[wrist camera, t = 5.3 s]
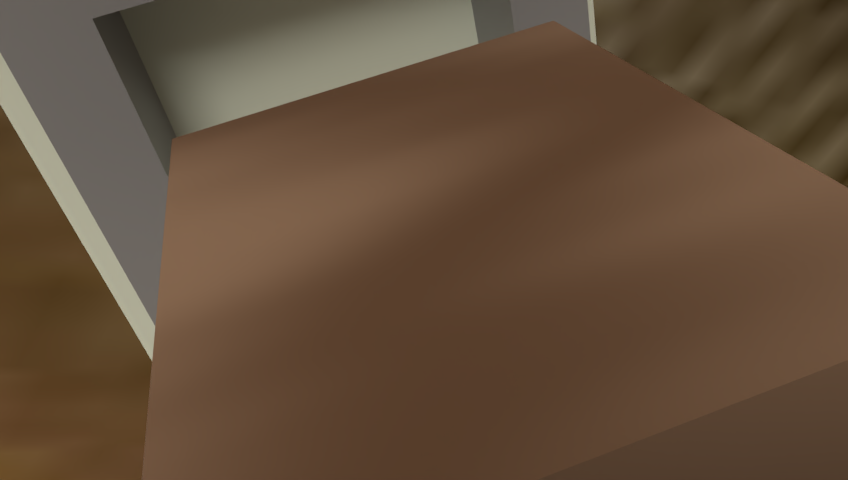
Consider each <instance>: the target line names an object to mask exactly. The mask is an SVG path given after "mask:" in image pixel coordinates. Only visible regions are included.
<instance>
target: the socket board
mask: <svg viewBox="0 0 848 480" xmlns="http://www.w3.org/2000/svg"><path fill="white" fill-rule="evenodd" d="M550 21H555V22H557V23H559V24H561V25H562V26H564V27H566V28H568V29H569V30H571V31H573V32H575V33H576V34H578V35H580V36H582V37H584V38H585V39H587V40H589V41H591V42H592V43H594V44H596V31H595V19H594V6H593V0H0V105H1V107H2V108H3V110H4V112H5V113H6V115H7V117H8V118H9V120H10V122H11V123H12V125H13V127H14V129H15V130H16V132H17V134H18V135H19V137H20V139H21V140H22V142H23V144H24V145H25V147H26V149H27V151H28V152H29V154H30V156H31V157H32V159H33V161H34V162H35V164H36V166H37V167H38V169H39V171H40V173H41V174H42V176H43V178H44V179H45V181H46V183H47V184H48V186H49V188H50V189H51V191H52V193H53V195H54V196H55V198H56V200H57V201H58V203H59V205H60V206H61V208H62V210H63V211H64V213H65V215H66V216H67V218H68V220H69V222H70V223H71V225H72V227H73V228H74V230H75V232H76V233H77V235H78V237H79V238H80V240H81V242H82V244H83V245H84V247H85V249H86V250H87V252H88V254H89V255H90V257H91V259H92V260H93V262H94V264H95V266H96V267H97V269H98V271H99V272H100V274H101V276H102V277H103V279H104V281H105V282H106V284H107V286H108V288H109V289H110V291H111V293H112V294H113V296H114V298H115V299H116V301H117V303H118V304H119V306H120V308H121V309H122V311H123V313H124V315H125V316H126V318H127V320H128V321H129V323H130V325H131V326H132V328H133V330H134V331H135V333H136V335H137V337H138V338H139V340H140V342H141V343H142V345H143V347H144V348H145V350H146V352H147V353H148V355H149V357H150V359H151V360H152V358H153V347H154V336H155V324H156V313H157V302H158V291H159V279H160V268H161V257H162V246H163V235H164V223H165V212H166V201H167V190H168V178H169V167H170V156H171V145H172V139H173V138H176V137H180V136H183V135H186V134H189V133H192V132H196V131H199V130H202V129H205V128H209V127H212V126H215V125H218V124H221V123H225V122H228V121H231V120H234V119H238V118H241V117H244V116H247V115H251V114H254V113H257V112H260V111H263V110H267V109H270V108H273V107H276V106H280V105H283V104H286V103H289V102H292V101H296V100H299V99H302V98H305V97H309V96H312V95H315V94H318V93H321V92H325V91H328V90H331V89H334V88H338V87H341V86H344V85H347V84H350V83H354V82H357V81H360V80H363V79H367V78H370V77H373V76H376V75H380V74H383V73H386V72H389V71H392V70H396V69H399V68H402V67H405V66H409V65H412V64H415V63H418V62H421V61H425V60H428V59H431V58H434V57H438V56H441V55H444V54H447V53H450V52H454V51H457V50H460V49H463V48H467V47H470V46H473V45H476V44H479V43H483V42H486V41H489V40H492V39H496V38H499V37H502V36H505V35H508V34H512V33H515V32H518V31H521V30H525V29H528V28H531V27H534V26H538V25H541V24H544V23H547V22H550ZM596 45H597V44H596Z"/></svg>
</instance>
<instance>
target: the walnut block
mask: <svg viewBox="0 0 848 480" xmlns="http://www.w3.org/2000/svg"><path fill="white" fill-rule="evenodd" d="M142 480H848V188H847V187H846V186H844V185H842V184H840V183H839V182H837V181H835V180H833V179H832V178H830V177H828V176H826V175H825V174H823V173H821V172H819V171H818V170H816V169H814V168H812V167H811V166H809V165H807V164H805V163H803V162H802V161H800V160H798V159H796V158H795V157H793V156H791V155H789V154H788V153H786V152H784V151H782V150H781V149H779V148H777V147H775V146H774V145H772V144H770V143H768V142H767V141H765V140H763V139H761V138H759V137H758V136H756V135H754V134H752V133H751V132H749V131H747V130H745V129H744V128H742V127H740V126H738V125H737V124H735V123H733V122H731V121H730V120H728V119H726V118H724V117H723V116H721V115H719V114H717V113H716V112H714V111H712V110H710V109H708V108H707V107H705V106H703V105H701V104H700V103H698V102H696V101H694V100H693V99H691V98H689V97H687V96H686V95H684V94H682V93H680V92H679V91H677V90H675V89H673V88H672V87H670V86H668V85H666V84H664V83H663V82H661V81H659V80H657V79H656V78H654V77H652V76H650V75H649V74H647V73H645V72H643V71H642V70H640V69H638V68H636V67H635V66H633V65H631V64H629V63H628V62H626V61H624V60H622V59H620V58H619V57H617V56H615V55H613V54H612V53H610V52H608V51H606V50H605V49H603V48H601V47H599V46H598V45H596V44H594V43H592V42H591V41H589V40H587V39H585V38H584V37H582V36H580V35H578V34H576V33H575V32H573V31H571V30H569V29H568V28H566V27H564V26H562V25H561V24H559V23H557V22H555V21H550V22H547V23H544V24H541V25H538V26H534V27H531V28H528V29H525V30H521V31H518V32H515V33H512V34H508V35H505V36H502V37H499V38H496V39H492V40H489V41H486V42H483V43H479V44H476V45H473V46H470V47H467V48H463V49H460V50H457V51H454V52H450V53H447V54H444V55H441V56H438V57H434V58H431V59H428V60H425V61H421V62H418V63H415V64H412V65H409V66H405V67H402V68H399V69H396V70H392V71H389V72H386V73H383V74H380V75H376V76H373V77H370V78H367V79H363V80H360V81H357V82H354V83H350V84H347V85H344V86H341V87H338V88H334V89H331V90H328V91H325V92H321V93H318V94H315V95H312V96H309V97H305V98H302V99H299V100H296V101H292V102H289V103H286V104H283V105H280V106H276V107H273V108H270V109H267V110H263V111H260V112H257V113H254V114H251V115H247V116H244V117H241V118H238V119H234V120H231V121H228V122H225V123H221V124H218V125H215V126H212V127H209V128H205V129H202V130H199V131H196V132H192V133H189V134H186V135H183V136H180V137H176V138H173V139H172V145H171V156H170V167H169V178H168V190H167V201H166V212H165V223H164V235H163V246H162V257H161V268H160V279H159V291H158V302H157V313H156V324H155V336H154V347H153V358H152V369H151V381H150V392H149V403H148V414H147V426H146V437H145V448H144V459H143V470H142Z"/></svg>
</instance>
